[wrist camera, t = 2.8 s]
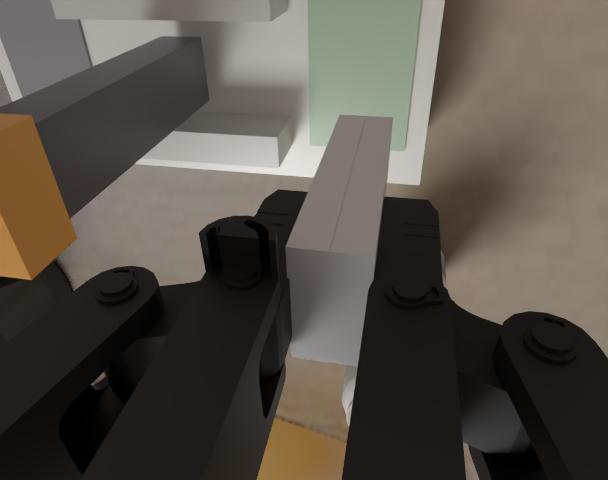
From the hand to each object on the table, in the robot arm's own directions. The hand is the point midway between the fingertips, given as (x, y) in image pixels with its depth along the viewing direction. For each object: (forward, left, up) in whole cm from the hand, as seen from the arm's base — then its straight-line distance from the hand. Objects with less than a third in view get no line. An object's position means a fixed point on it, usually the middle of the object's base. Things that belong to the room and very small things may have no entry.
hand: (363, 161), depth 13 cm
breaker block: (-10, 0, -17) cm, 20 cm away
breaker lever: (-10, 0, -10) cm, 14 cm away
